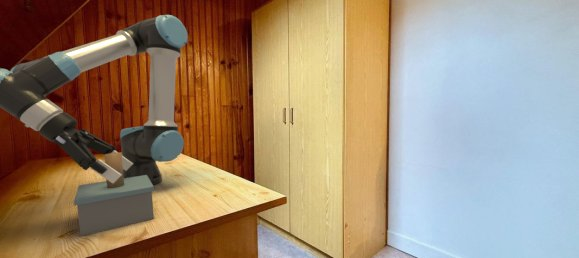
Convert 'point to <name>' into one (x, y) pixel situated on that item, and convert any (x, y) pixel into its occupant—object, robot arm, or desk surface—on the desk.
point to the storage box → (115, 212)
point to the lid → (113, 184)
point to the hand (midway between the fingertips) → (124, 172)
